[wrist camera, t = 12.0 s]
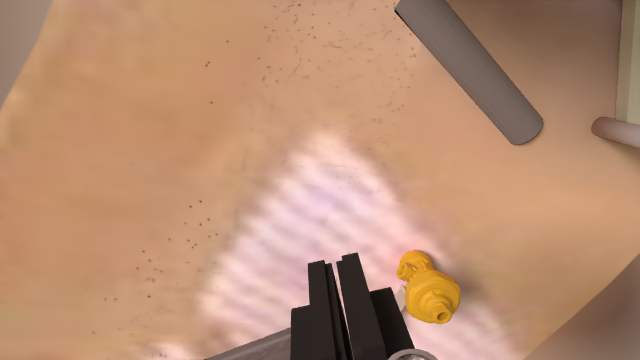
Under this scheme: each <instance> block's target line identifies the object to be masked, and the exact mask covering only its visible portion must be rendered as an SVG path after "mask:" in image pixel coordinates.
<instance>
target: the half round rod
mask: <svg viewBox="0 0 640 360" xmlns="http://www.w3.org/2000/svg"><path fill="white" fill-rule="evenodd" d="M395 13H396V14H397V15H398V16H399V17H400V18H401V19H402V20H403V22H404V23H405V24H406V25H407V26H408V27H409V28H410V30H411V31H412V32H413V33H414V34H415V35H416V36H417V37H418V39H419V40H420V41H421V42H422V43H423V44H424V45H425V46H426V48H427V49H428V50H429V51H430V52H431V53H432V54H433V56H434V57H435V58H436V59H437V60H438V61H439V62H440V63H441V65H442V66H443V67H444V68H445V69H446V70H447V71H448V73H449V74H450V75H451V76H452V77H453V78H454V79H455V80H456V82H457V83H458V84H459V85H460V86H461V87H462V88H463V89H464V91H465V92H466V93H467V94H468V95H469V96H470V97H471V99H472V100H473V101H474V102H475V103H476V104H477V105H478V106H479V108H480V109H481V110H482V111H483V112H484V113H485V114H486V115H487V117H488V118H489V119H490V120H491V121H492V122H493V123H494V125H495V126H496V127H497V128H498V129H499V130H500V131H501V132H502V134H503V135H504V136H505V137H506V138H507V139H508V140H509V142H510V143H511V144H513V145H520V144H522V143H525V142H527V141H529V140H530V139H532V138H533V137H534V136H536V135H537V133H538V132H539V131H540V130H541V128H542V126H543V119H542V117H541V116H540V115H539V114H538V112H537V111H536V110H535V109H534V108H533V106H532V105H531V104H530V103H529V101H528V100H527V99H526V98H525V97H524V95H523V94H522V93H521V92H520V91H519V89H518V88H517V87H516V86H515V84H514V83H513V82H512V81H511V80H510V78H509V77H508V76H507V75H506V74H505V72H504V71H503V70H502V69H501V67H500V66H499V65H498V64H497V63H496V61H495V60H494V59H493V58H492V57H491V55H490V54H489V53H488V52H487V50H486V49H485V48H484V47H483V46H482V44H481V43H480V42H479V41H478V40H477V38H476V37H475V36H474V35H473V33H472V32H471V31H470V30H469V29H468V27H467V26H466V25H465V24H464V23H463V21H462V20H461V19H460V18H459V16H458V15H457V14H456V13H455V12H454V10H453V9H452V8H451V7H450V6H449V4H448V3H447V2H446V1H445V0H400V2H399V3H398V4H397V6H396V8H395Z"/></svg>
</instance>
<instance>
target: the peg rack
mask: <svg viewBox="0 0 640 360" xmlns="http://www.w3.org/2000/svg"><path fill="white" fill-rule="evenodd" d="M592 132H593V133H594V134H595V135H598V136H601V137H604V138H608V139H611V140H614V141H616V142H619V143H622V144H628V145H631V146H634V147H638V148H640V0H623V2H622V18H621V34H620V50H619V66H618V82H617V98H616V114H615V119H612V118H607V117H600V118H598V119H597V120H595V121H594V123H593V125H592Z"/></svg>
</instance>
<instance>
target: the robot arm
mask: <svg viewBox="0 0 640 360" xmlns="http://www.w3.org/2000/svg"><path fill="white" fill-rule="evenodd" d="M336 264H337V269H338V275H339V280H340V286H341V291H342V297H343V302H344V308H345V313H346V319H347V324H348V330H349V334H348V330H347V325H346V321H345V317H344V313H343V309H342V305H341V301H340V297H339V292H338V288H337V284H336V280H335V276H334V272H333V268H332V264H331V263H328V264H325V262H324V260H321V261H317V262H312V263H308V280H309V301H310V305H307V306H302V307H298V308H293V309H292V311H291V347H290V360H353V356H354V360H438V359H437V358H436V357H435V356H433V355H432V354H430V353H428V352H426V351H423V350H419V349H415V348H414V345H413V342H412V340H411V337H410V335H409V332H408V330H407V327H406V324H405V322H404V319H403V317H402V314H401V312H400V309H399V306H398V304H397V301H396V299H395V296H394V294H393V291H392V289H391V287H388V288H384V289H379V290H375V291H370V292H369V290H368V286H367V283H366V280H365V276H364V273H363V269H362V266H361V263H360V259H359V256H358V253H353V254H348V255H344V256H342V261H337V262H336ZM349 335H350V339H349ZM350 341H351V345H350ZM351 346H352V351H353V356H352V351H351Z"/></svg>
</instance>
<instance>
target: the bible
mask: <svg viewBox="0 0 640 360" xmlns="http://www.w3.org/2000/svg"><path fill="white" fill-rule="evenodd" d="M290 347H291V327H290V328H287V329H285V330H283V331H280V332H277V333H274V334H271V335H269V336H266V337H264V338H262V339H259V340H256V341H253V342H250V343H248V344H245V345H242V346H239V347H237V348H234V349H232V350H229V351H226V352H224V353H221V354H218V355H216V356H213V357H210V358H208V359H205V360H290Z"/></svg>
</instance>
